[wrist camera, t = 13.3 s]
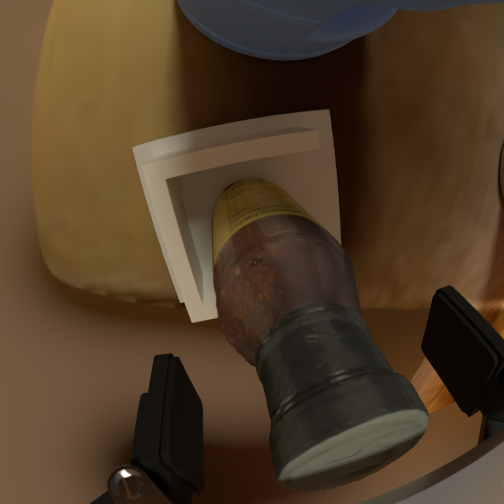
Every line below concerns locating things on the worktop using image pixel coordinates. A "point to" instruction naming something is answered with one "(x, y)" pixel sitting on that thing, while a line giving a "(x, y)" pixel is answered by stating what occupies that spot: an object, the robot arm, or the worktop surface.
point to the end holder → (224, 174)
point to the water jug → (298, 23)
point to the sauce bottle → (307, 341)
